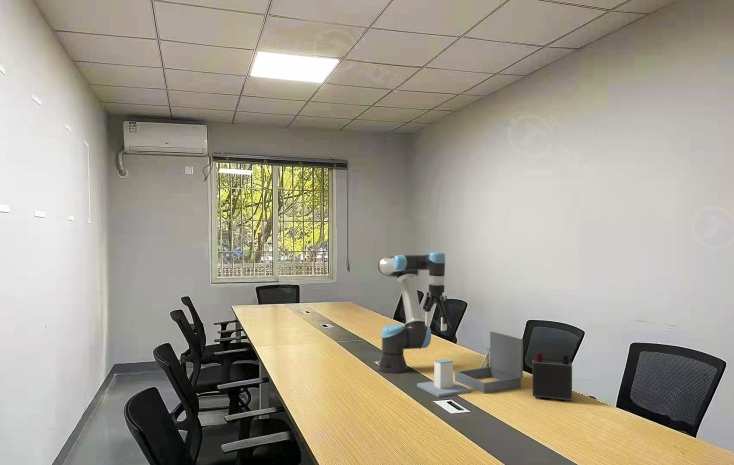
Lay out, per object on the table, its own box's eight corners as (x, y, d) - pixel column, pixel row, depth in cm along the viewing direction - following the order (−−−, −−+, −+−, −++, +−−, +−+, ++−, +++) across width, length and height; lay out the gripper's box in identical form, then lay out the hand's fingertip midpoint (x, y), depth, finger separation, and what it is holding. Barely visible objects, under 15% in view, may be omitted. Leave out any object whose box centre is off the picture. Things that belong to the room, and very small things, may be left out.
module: (434, 385, 231) (434, 360, 231) (446, 384, 234) (446, 358, 234) (440, 388, 226) (440, 362, 226) (452, 386, 229) (453, 361, 229)
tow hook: (478, 369, 267) (479, 373, 258) (478, 345, 267) (479, 348, 258) (494, 370, 265) (496, 374, 256) (494, 346, 266) (496, 349, 257)
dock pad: (416, 386, 234) (416, 383, 234) (448, 381, 242) (448, 379, 242) (438, 397, 218) (438, 394, 218) (471, 391, 226) (471, 389, 226)
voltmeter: (569, 392, 227) (569, 348, 227) (572, 403, 212) (572, 356, 212) (532, 388, 232) (532, 345, 233) (532, 399, 217) (532, 353, 217)
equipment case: (453, 379, 245) (453, 334, 245) (490, 374, 255) (490, 330, 255) (483, 393, 224) (484, 343, 224) (522, 386, 234) (522, 339, 234)
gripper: (458, 287, 231) (457, 332, 231) (429, 280, 253) (428, 321, 254) (445, 287, 228) (444, 333, 228) (416, 281, 250) (415, 323, 251)
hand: (435, 327), depth 241 cm, fingers open, 13 cm apart
